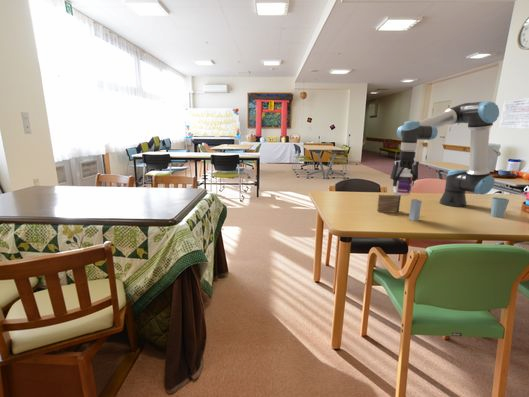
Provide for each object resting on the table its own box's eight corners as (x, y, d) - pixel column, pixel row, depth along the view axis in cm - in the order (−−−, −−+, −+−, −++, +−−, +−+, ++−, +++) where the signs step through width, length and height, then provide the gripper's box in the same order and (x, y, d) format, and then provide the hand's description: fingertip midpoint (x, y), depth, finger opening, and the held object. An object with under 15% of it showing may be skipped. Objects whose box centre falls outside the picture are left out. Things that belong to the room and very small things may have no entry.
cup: (506, 216, 170) (510, 199, 167) (504, 219, 164) (508, 201, 162) (490, 213, 175) (493, 196, 172) (487, 216, 170) (491, 198, 167)
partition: (396, 210, 177) (398, 192, 175) (418, 220, 158) (421, 201, 156) (391, 210, 177) (393, 192, 174) (413, 220, 158) (416, 201, 155)
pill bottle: (411, 196, 159) (415, 170, 156) (395, 195, 161) (399, 169, 157) (407, 193, 167) (411, 168, 163) (392, 192, 168) (395, 167, 165)
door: (398, 212, 173) (401, 195, 171) (377, 211, 174) (379, 195, 171) (397, 211, 175) (399, 194, 173) (376, 210, 176) (378, 194, 174)
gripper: (420, 150, 163) (414, 190, 169) (386, 150, 160) (381, 190, 165) (429, 151, 156) (423, 193, 162) (394, 151, 153) (389, 193, 158)
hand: (402, 191), depth 163 cm, fingers closed on pill bottle, 8 cm apart
